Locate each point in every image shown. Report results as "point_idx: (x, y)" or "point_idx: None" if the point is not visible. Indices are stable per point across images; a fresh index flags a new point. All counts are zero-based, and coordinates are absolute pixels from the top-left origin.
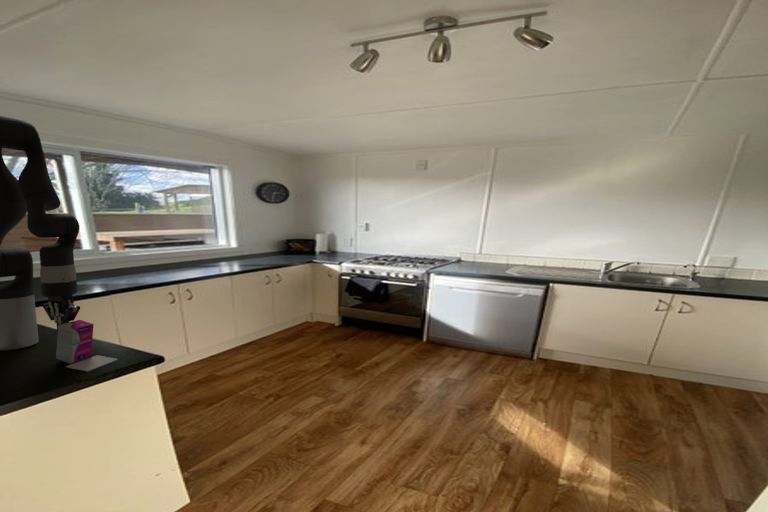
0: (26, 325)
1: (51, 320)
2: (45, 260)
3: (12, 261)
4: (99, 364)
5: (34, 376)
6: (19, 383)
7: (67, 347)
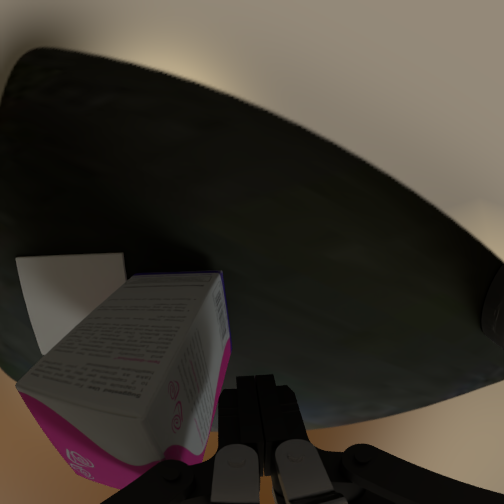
0: None
1: (358, 444)
2: None
3: None
4: (37, 306)
5: (140, 149)
6: (122, 95)
7: (113, 311)
